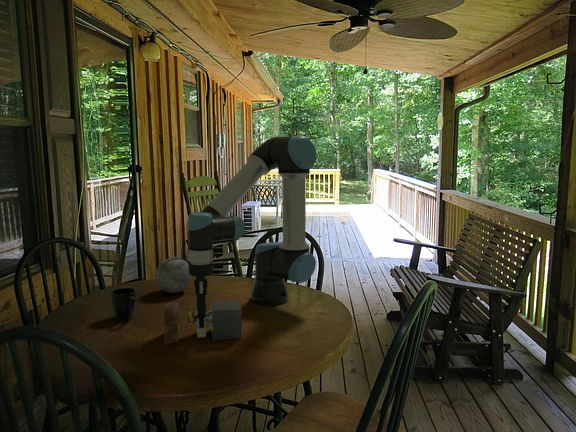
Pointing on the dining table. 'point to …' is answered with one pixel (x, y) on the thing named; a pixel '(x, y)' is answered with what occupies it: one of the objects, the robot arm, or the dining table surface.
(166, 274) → the decorative orb
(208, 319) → the tube
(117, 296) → the mug
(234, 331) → the sleeve
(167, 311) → the socket
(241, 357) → the dining table surface
